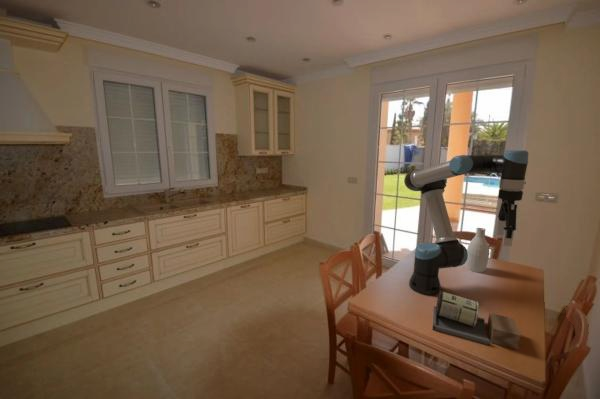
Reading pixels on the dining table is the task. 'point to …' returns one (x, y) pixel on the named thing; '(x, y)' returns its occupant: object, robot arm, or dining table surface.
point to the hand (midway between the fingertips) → (503, 240)
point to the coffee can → (457, 308)
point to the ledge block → (503, 331)
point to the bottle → (478, 252)
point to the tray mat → (461, 328)
